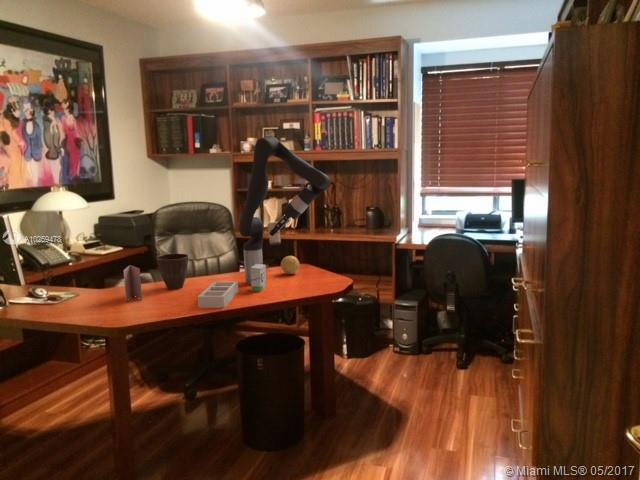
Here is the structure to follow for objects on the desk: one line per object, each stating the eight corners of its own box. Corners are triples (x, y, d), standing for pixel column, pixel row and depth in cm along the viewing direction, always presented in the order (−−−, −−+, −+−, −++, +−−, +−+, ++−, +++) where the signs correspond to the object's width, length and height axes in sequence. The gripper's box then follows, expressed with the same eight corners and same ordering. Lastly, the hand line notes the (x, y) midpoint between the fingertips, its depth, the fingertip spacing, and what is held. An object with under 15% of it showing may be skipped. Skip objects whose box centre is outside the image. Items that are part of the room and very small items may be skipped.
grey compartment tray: (214, 292, 258) (214, 281, 257) (238, 291, 257) (237, 281, 256) (198, 307, 232) (197, 296, 231) (224, 307, 231) (223, 296, 230)
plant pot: (192, 289, 263) (189, 257, 260) (160, 293, 258) (158, 260, 255) (188, 283, 277) (186, 252, 274) (158, 286, 272) (156, 255, 269)
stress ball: (291, 273, 296) (276, 262, 294) (302, 260, 295) (288, 249, 292) (292, 280, 287) (277, 269, 284) (303, 266, 285) (288, 256, 282)
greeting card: (130, 295, 255) (128, 264, 252) (146, 295, 256) (144, 264, 253) (124, 302, 244) (121, 270, 241) (141, 301, 244) (138, 269, 242)
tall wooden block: (271, 243, 251) (269, 222, 250) (281, 242, 251) (278, 221, 249) (270, 245, 247) (267, 223, 246) (279, 244, 247) (276, 222, 245)
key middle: (211, 292, 247) (211, 289, 247) (229, 292, 247) (229, 289, 246) (208, 295, 241) (207, 293, 241) (226, 295, 241) (225, 293, 240)
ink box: (256, 287, 265) (255, 263, 263) (266, 287, 263) (265, 263, 262) (250, 291, 256) (249, 267, 254) (261, 292, 255) (260, 267, 253)
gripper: (292, 200, 252) (268, 226, 255) (288, 203, 238) (262, 230, 241) (304, 211, 253) (280, 237, 256) (300, 214, 239) (274, 242, 242)
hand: (271, 233), depth 248 cm, fingers closed on tall wooden block, 4 cm apart
